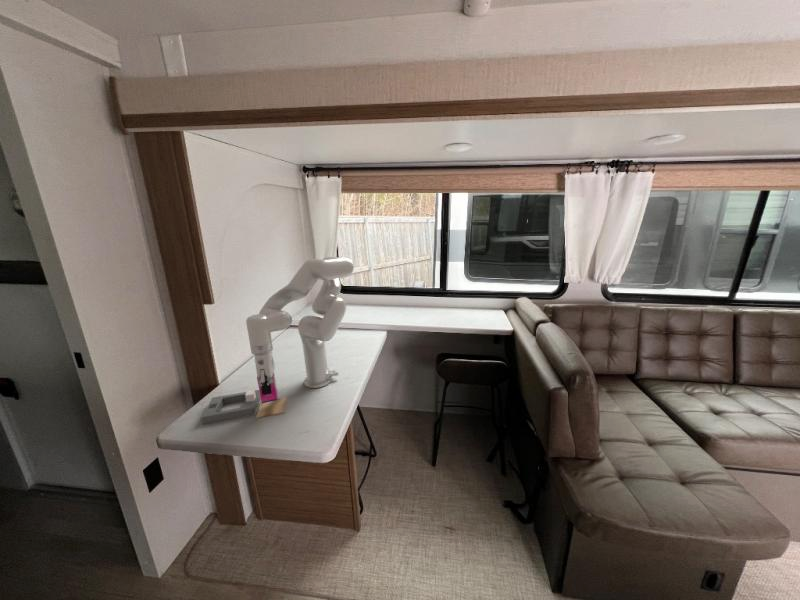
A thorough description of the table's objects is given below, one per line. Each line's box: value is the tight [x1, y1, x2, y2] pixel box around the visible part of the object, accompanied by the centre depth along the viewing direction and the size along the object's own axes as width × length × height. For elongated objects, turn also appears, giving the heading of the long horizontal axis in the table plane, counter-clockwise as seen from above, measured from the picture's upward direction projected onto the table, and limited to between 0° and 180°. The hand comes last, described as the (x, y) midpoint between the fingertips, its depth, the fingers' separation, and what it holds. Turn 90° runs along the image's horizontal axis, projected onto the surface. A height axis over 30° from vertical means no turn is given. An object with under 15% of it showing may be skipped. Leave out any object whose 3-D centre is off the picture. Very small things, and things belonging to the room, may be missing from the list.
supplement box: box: [256, 372, 279, 403], centre depth 115 cm, size 6×6×12 cm
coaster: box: [256, 397, 287, 419], centre depth 118 cm, size 10×10×1 cm
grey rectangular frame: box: [200, 389, 261, 425], centre depth 117 cm, size 18×13×6 cm
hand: (268, 388), depth 115 cm, fingers closed on supplement box, 6 cm apart
